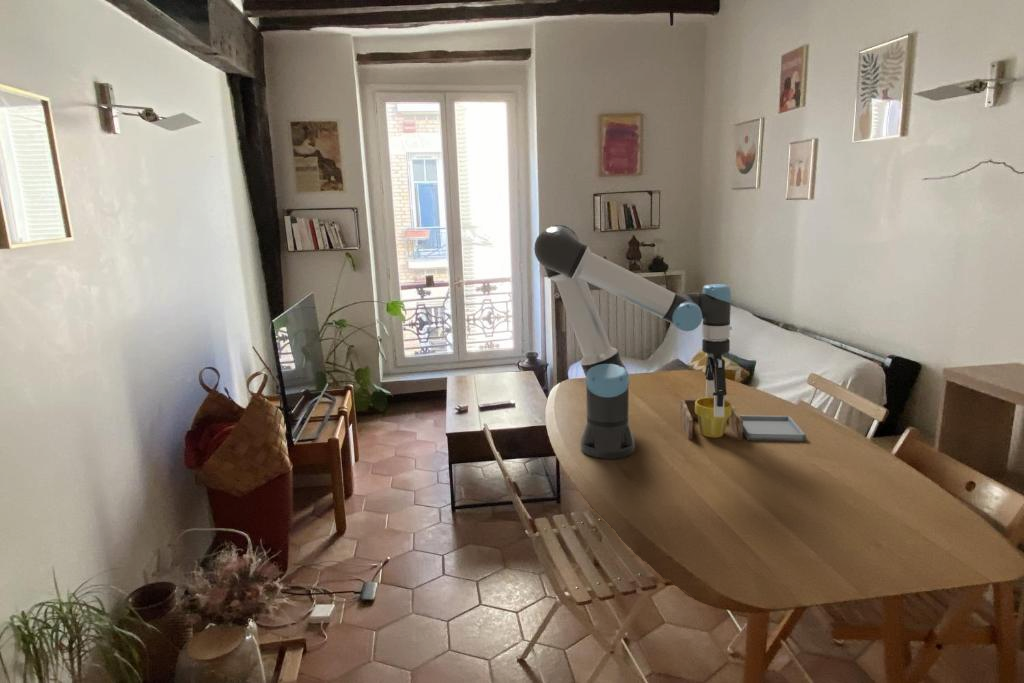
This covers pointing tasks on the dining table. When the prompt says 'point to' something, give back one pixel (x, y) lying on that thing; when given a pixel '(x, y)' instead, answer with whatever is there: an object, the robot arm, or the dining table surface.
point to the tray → (771, 428)
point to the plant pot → (711, 417)
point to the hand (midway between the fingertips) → (714, 408)
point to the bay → (689, 413)
